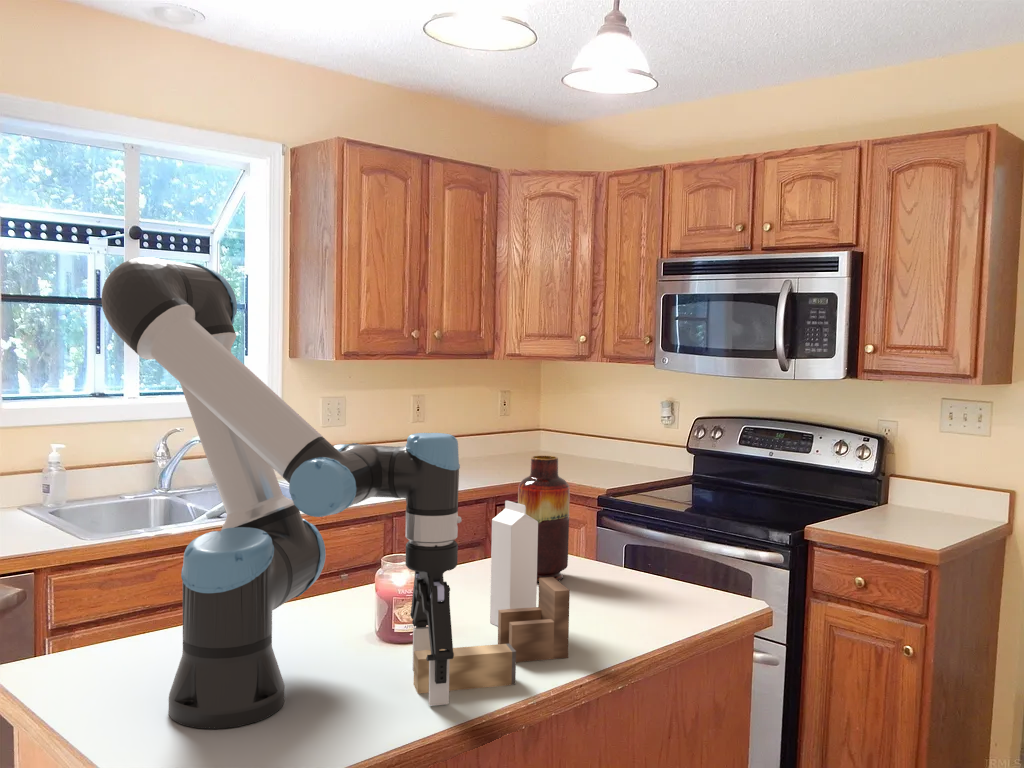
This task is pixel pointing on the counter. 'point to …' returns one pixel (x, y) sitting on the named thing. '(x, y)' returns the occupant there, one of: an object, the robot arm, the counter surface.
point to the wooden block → (471, 667)
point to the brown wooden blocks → (538, 624)
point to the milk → (513, 560)
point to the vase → (548, 514)
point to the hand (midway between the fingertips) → (429, 686)
